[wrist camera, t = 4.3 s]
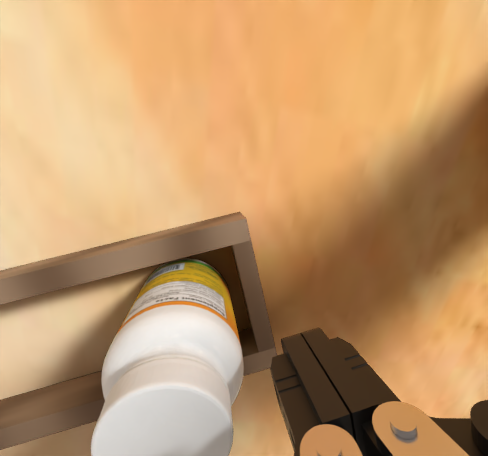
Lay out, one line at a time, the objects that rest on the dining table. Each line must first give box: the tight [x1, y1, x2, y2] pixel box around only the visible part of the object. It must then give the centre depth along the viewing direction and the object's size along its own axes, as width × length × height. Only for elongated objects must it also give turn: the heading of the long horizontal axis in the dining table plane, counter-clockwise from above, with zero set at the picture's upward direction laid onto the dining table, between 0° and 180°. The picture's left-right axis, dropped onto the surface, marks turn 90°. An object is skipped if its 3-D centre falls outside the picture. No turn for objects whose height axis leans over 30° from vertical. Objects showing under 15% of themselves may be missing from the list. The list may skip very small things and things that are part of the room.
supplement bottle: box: [91, 259, 244, 456], centre depth 12 cm, size 5×5×10 cm
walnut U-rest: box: [0, 212, 277, 450], centre depth 15 cm, size 19×9×3 cm, turn 103°
